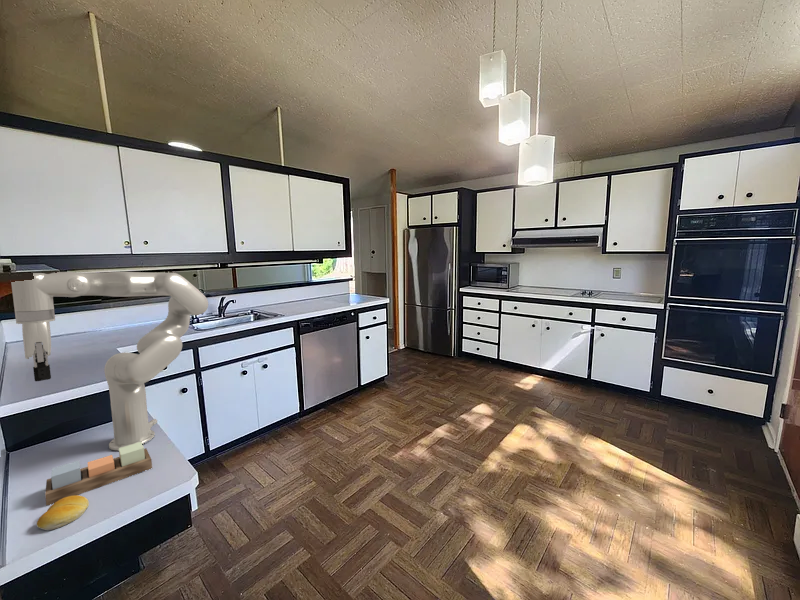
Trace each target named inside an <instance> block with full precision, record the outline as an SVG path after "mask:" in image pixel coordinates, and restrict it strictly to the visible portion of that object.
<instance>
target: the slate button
mask: <svg viewBox="0 0 800 600" xmlns="http://www.w3.org/2000/svg"><path fill="white" fill-rule="evenodd" d="M80 469H81V464H80V459H78V460H76V461H75V460H74V461H72V462H69V463H66V464H61V465H59V466H56V467H52V468H51V473H50V474H51V475H50V478H51V479H52V487H53V490H54V489H57V488H60V487H63V486H66V485H69V484H72V483H75V482H78V481H81V471H80Z"/></svg>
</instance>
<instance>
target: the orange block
mask: <svg viewBox="0 0 800 600" xmlns="http://www.w3.org/2000/svg"><path fill="white" fill-rule="evenodd" d="M113 458H114V457H113V454H110V455H107V456H104V457H101V458H97V459H94V460H90V461H87V467H88V471H89V478H90V477H93V476H96V475H99V474H102V473H105V472H108V471H111V470H114V469H115V466H114V460H113Z"/></svg>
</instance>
